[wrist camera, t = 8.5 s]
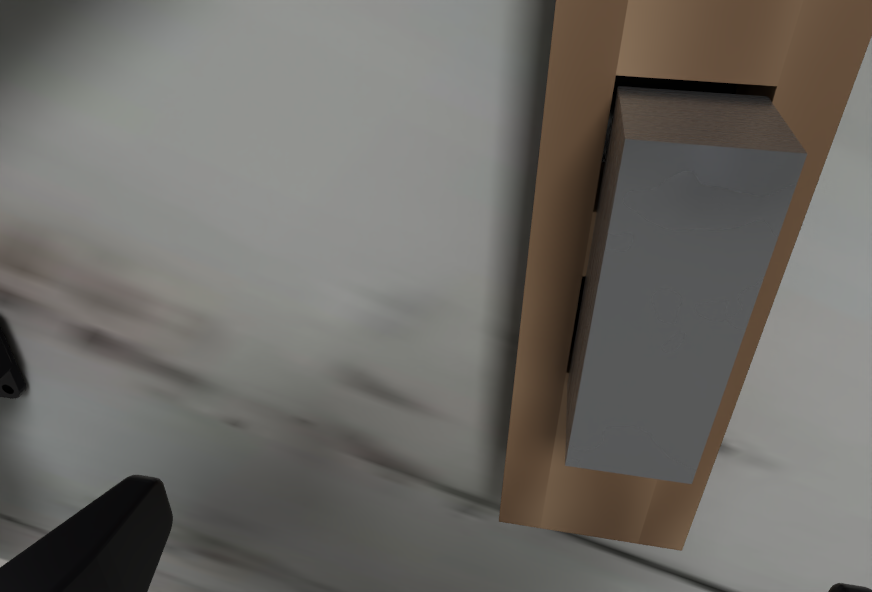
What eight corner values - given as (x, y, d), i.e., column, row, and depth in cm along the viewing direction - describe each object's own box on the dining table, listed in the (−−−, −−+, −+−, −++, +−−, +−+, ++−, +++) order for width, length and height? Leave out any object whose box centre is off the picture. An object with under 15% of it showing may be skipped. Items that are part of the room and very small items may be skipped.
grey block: (569, 321, 21) (564, 465, 17) (613, 48, 17) (625, 139, 12) (666, 332, 21) (691, 484, 16) (740, 56, 16) (807, 153, 11)
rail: (506, 455, 25) (498, 521, 23) (595, -344, 13) (598, -385, 10) (671, 479, 25) (681, 550, 22) (939, -349, 12) (1030, -395, 10)
